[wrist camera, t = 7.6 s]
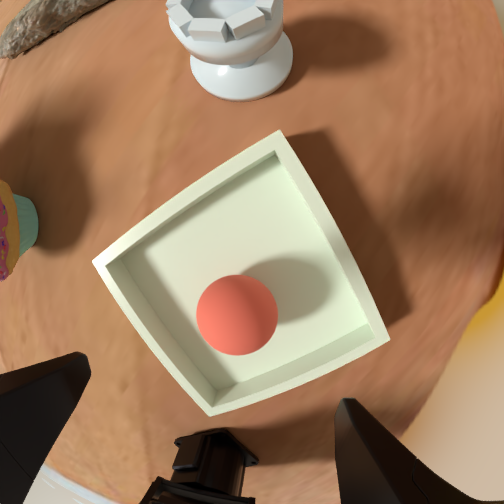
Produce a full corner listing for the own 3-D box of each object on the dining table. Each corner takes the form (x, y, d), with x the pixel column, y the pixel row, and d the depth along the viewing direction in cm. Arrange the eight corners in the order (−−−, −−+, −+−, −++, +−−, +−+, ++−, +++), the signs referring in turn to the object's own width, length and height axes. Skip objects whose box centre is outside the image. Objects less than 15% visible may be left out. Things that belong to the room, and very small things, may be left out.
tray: (378, 321, 18) (390, 339, 15) (216, 395, 21) (209, 416, 18) (279, 138, 16) (279, 129, 13) (112, 252, 18) (91, 261, 16)
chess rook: (311, 73, 14) (329, 8, 7) (225, 120, 16) (187, 76, 8) (258, 11, 14) (246, -58, 6) (178, 54, 15) (129, -1, 8)
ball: (287, 337, 17) (301, 315, 13) (224, 374, 16) (218, 363, 12) (249, 282, 19) (252, 245, 15) (189, 313, 18) (174, 284, 14)
